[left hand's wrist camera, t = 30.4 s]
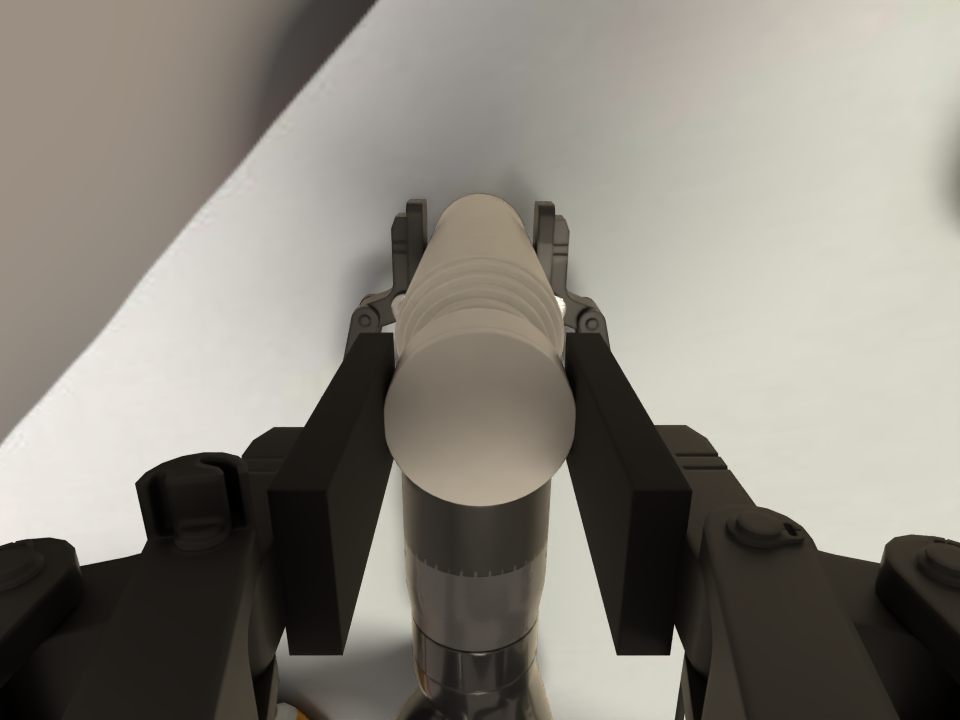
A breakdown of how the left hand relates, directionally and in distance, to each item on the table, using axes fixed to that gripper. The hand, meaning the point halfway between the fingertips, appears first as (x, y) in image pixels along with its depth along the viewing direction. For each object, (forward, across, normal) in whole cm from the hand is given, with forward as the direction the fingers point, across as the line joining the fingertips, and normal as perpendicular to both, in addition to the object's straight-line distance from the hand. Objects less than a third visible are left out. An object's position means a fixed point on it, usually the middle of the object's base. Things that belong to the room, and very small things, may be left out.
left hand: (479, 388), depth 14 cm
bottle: (+21, 0, 0) cm, 21 cm away
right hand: (+14, 0, -3) cm, 14 cm away
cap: (-1, 0, 0) cm, 1 cm away
